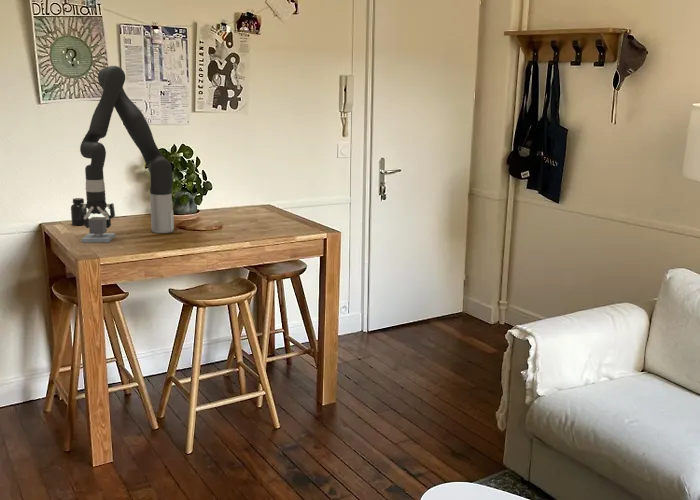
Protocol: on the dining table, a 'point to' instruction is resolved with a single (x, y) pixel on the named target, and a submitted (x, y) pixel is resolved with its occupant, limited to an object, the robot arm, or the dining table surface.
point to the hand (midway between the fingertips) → (98, 227)
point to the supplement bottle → (77, 212)
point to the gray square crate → (97, 225)
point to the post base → (98, 238)
